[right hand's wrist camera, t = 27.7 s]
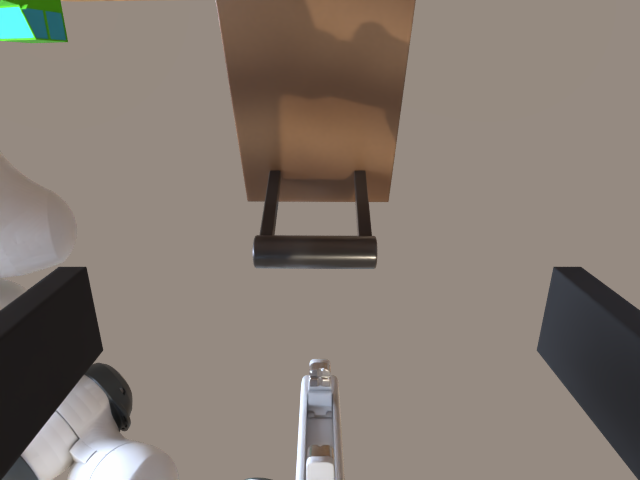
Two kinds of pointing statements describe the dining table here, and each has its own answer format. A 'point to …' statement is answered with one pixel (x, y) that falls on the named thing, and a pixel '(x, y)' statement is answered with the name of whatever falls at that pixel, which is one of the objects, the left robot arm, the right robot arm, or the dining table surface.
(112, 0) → the dining table surface
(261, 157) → the lid
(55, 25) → the toy car
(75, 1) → the dining table surface
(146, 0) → the dining table surface
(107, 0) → the dining table surface
